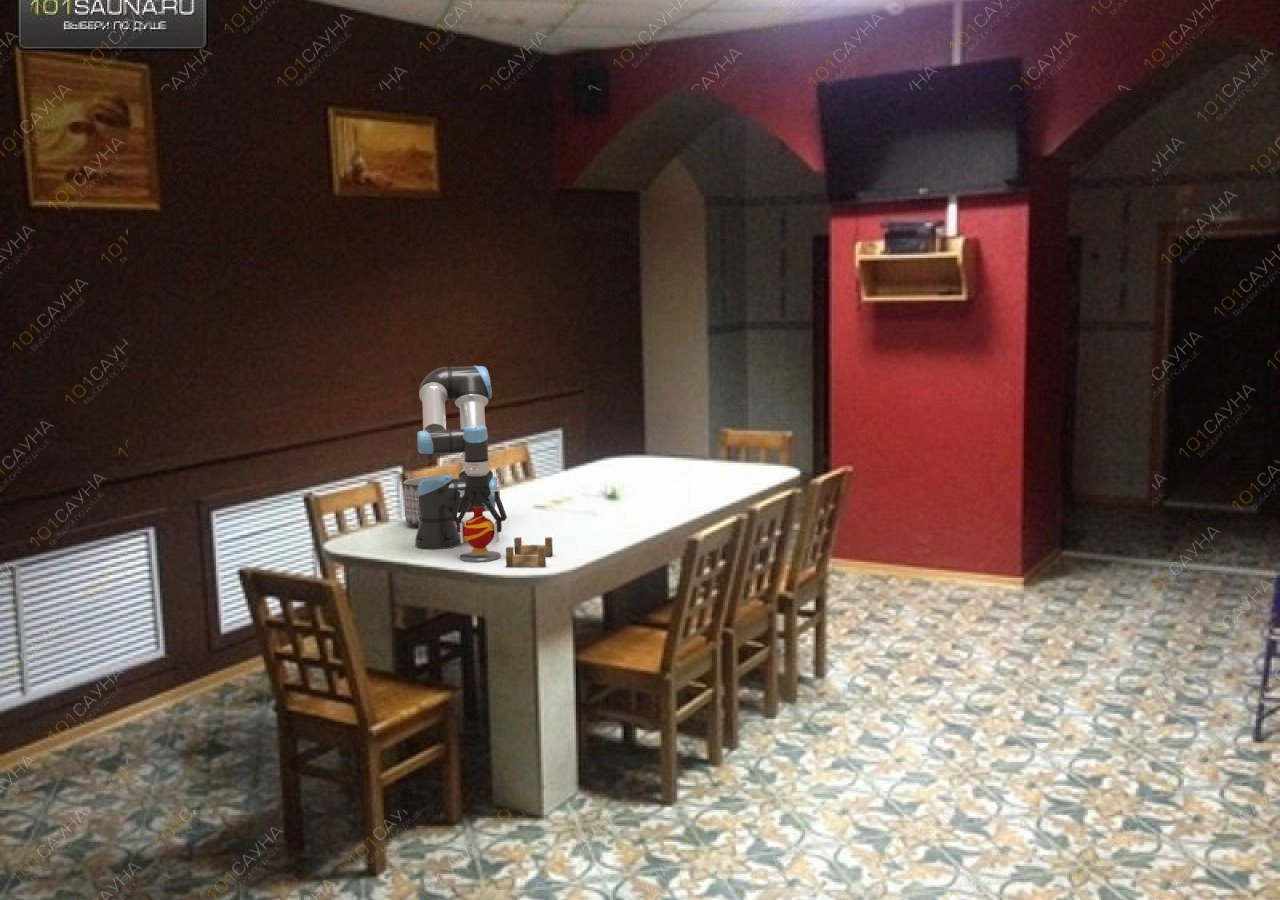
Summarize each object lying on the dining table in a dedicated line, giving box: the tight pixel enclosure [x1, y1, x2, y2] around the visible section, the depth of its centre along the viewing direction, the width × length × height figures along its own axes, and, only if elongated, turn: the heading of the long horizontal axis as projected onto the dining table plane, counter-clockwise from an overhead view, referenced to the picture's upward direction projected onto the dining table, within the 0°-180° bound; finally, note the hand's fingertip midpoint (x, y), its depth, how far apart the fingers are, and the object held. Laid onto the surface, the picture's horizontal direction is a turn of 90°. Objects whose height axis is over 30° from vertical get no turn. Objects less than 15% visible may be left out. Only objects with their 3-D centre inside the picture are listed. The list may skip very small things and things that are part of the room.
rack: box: [505, 536, 554, 568], centre depth 369 cm, size 12×16×6 cm
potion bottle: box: [463, 504, 495, 553], centre depth 374 cm, size 10×10×15 cm
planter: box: [402, 476, 456, 527], centre depth 430 cm, size 19×19×16 cm
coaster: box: [459, 550, 502, 563], centre depth 375 cm, size 13×13×1 cm
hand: (479, 542), depth 375 cm, fingers closed on potion bottle, 10 cm apart
